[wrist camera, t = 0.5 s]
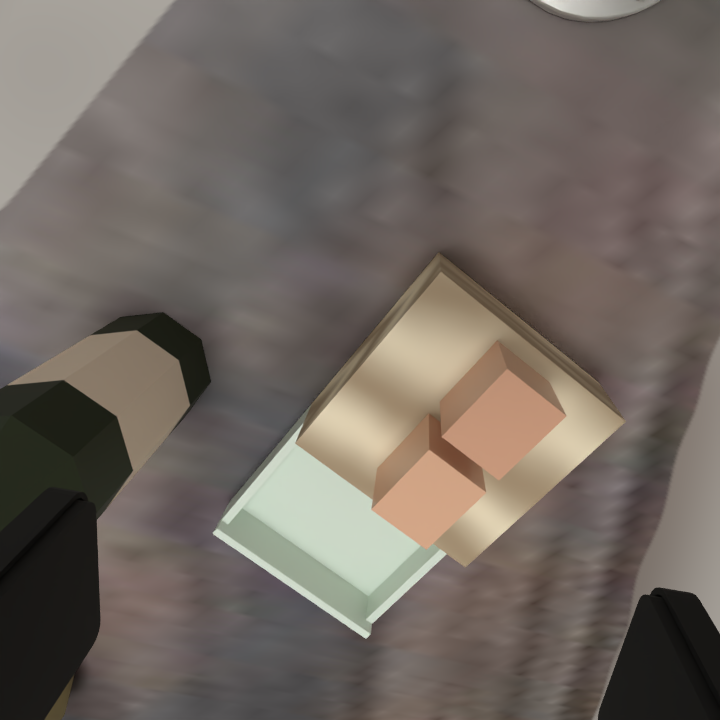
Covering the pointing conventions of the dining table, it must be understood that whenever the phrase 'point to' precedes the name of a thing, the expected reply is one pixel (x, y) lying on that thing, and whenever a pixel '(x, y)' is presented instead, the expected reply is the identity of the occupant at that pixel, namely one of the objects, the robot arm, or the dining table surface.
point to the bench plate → (430, 385)
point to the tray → (322, 536)
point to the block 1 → (426, 484)
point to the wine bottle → (97, 411)
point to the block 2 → (499, 411)
